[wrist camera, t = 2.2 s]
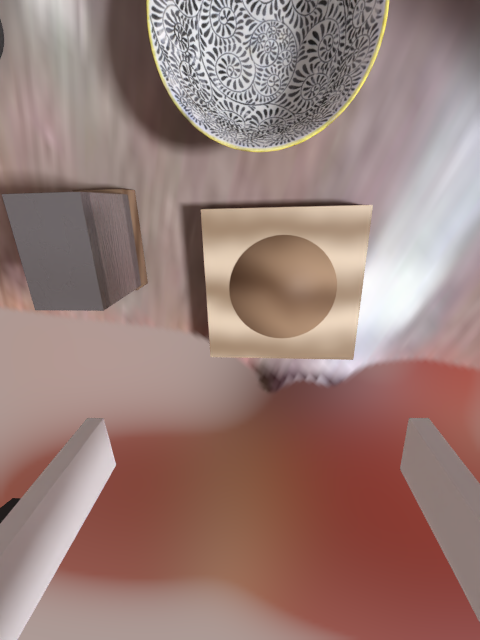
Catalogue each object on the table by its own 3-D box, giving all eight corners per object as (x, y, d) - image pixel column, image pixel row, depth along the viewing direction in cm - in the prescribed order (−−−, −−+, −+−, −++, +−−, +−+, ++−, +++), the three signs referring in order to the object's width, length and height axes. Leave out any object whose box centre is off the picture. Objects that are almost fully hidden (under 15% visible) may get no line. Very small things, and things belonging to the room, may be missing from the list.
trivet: (206, 208, 32) (200, 209, 29) (363, 204, 30) (373, 205, 27) (214, 345, 37) (210, 357, 35) (346, 347, 36) (353, 359, 33)
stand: (89, 191, 32) (72, 190, 29) (134, 190, 31) (121, 189, 29) (106, 283, 36) (93, 290, 33) (147, 283, 35) (137, 289, 32)
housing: (68, 196, 29) (1, 194, 22) (127, 194, 29) (79, 191, 21) (87, 285, 33) (35, 310, 25) (141, 285, 32) (103, 310, 25)
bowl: (202, 181, 31) (183, 175, 24) (152, -20, 25) (108, -105, 18) (364, 138, 28) (396, 117, 21) (346, -96, 23) (382, -227, 16)
